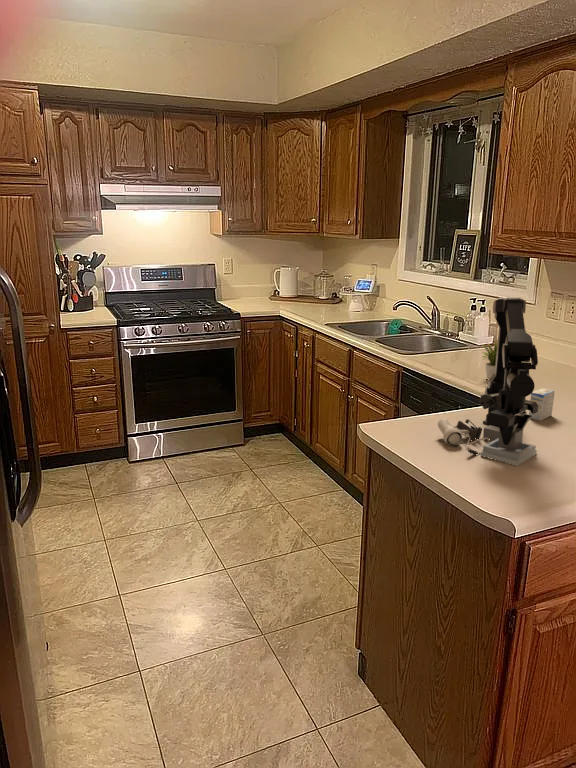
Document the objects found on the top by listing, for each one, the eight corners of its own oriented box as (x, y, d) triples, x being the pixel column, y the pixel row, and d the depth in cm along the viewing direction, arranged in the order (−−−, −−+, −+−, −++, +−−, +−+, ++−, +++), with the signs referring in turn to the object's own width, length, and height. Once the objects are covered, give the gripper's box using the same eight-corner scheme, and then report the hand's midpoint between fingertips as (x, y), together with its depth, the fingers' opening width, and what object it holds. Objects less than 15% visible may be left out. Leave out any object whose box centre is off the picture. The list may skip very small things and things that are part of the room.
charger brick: (505, 442, 166) (507, 423, 165) (521, 446, 163) (523, 427, 162) (497, 446, 163) (499, 427, 162) (513, 451, 160) (515, 431, 159)
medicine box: (538, 412, 200) (541, 387, 198) (552, 415, 197) (555, 390, 195) (528, 418, 195) (530, 392, 193) (541, 421, 192) (544, 395, 190)
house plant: (490, 385, 234) (493, 344, 229) (466, 377, 246) (469, 338, 242) (518, 381, 239) (522, 341, 235) (493, 374, 251) (496, 335, 247)
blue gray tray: (501, 444, 171) (502, 435, 171) (536, 453, 165) (537, 444, 164) (480, 456, 163) (481, 446, 163) (516, 466, 156) (517, 456, 156)
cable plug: (488, 436, 179) (489, 425, 178) (510, 441, 174) (511, 430, 173) (483, 439, 177) (484, 427, 176) (505, 444, 172) (506, 433, 171)
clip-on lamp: (495, 464, 166) (467, 429, 182) (501, 444, 163) (473, 411, 179) (455, 463, 164) (431, 428, 179) (461, 443, 161) (436, 410, 177)
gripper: (502, 375, 171) (498, 427, 175) (469, 387, 158) (465, 444, 162) (541, 382, 163) (535, 436, 167) (510, 396, 151) (504, 454, 155)
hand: (509, 442), depth 163 cm, fingers closed on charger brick, 4 cm apart
